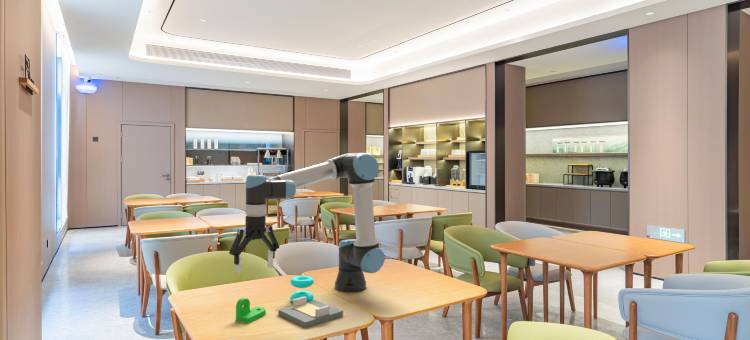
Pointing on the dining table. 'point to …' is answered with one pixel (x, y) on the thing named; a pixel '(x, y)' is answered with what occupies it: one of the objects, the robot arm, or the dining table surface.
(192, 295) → the dining table surface
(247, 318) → the mechanical part
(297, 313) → the grey square plate
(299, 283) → the donuts
